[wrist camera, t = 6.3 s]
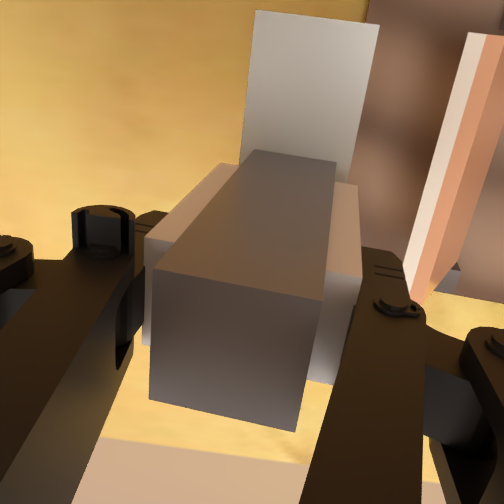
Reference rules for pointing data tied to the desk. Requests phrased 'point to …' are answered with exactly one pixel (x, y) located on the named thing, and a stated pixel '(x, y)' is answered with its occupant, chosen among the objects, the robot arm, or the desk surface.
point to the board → (424, 135)
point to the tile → (458, 165)
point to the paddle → (264, 230)
